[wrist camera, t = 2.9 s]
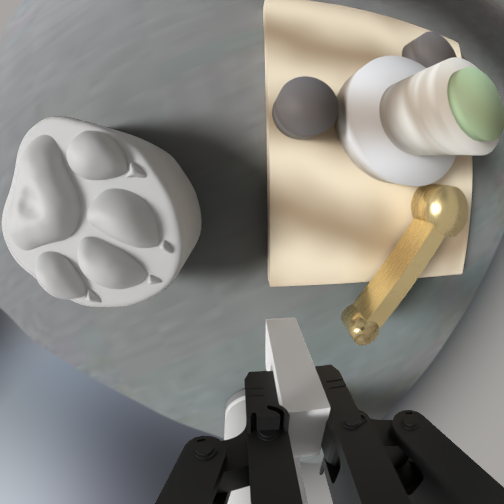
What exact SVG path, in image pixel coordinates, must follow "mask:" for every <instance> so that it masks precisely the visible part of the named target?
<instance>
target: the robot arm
mask: <svg viewBox="0 0 504 504" xmlns="http://www.w3.org/2000/svg"><path fill="white" fill-rule="evenodd" d="M265 363H266V369H267V371H260V372H249V373H248V375H247V376H246V378H245V403H246V427H245V429H244V431H243V432H242V433H241V434H239V435H238V436H236V437H234V438H231V439H228V440H224V441H220V440H219V439H217V438H214V437H211V436H200V437H195V438H194V439H192V440H190V441H188V443H187V444H186V445H185V447H184V449H183V450H182V452H181V454H180V456H179V458H178V460H177V462H176V464H175V466H174V468H173V470H172V472H171V474H170V476H169V478H168V480H167V482H166V484H165V486H164V488H163V489H162V491H161V493H160V495H159V497H158V499H157V501H156V503H155V504H227V503H228V500H229V497H230V494H231V491H234V490H237V489H241V488H244V487H247V486H250V499H251V504H303V502H302V497H301V492H300V487H299V482H298V477H297V472H296V467H295V462H294V457H303V456H310V455H317V454H320V451H321V447H322V450H323V453H324V458H323V461H322V465H321V468H320V475H322V474H323V472H324V471H325V475H326V479H327V482H328V486H329V489H330V493H331V497H332V500H333V504H504V488H503V486H501V485H500V484H499V483H498V482H497V481H495V480H494V479H493V478H492V477H491V476H490V475H489V474H488V473H487V472H485V471H484V470H483V469H482V468H481V467H480V466H479V465H478V464H477V463H475V462H474V461H473V460H472V459H471V458H470V457H469V456H468V455H466V454H465V453H464V452H463V451H462V450H461V449H460V448H459V447H457V446H456V445H455V444H454V443H453V442H452V441H451V440H450V439H448V438H447V437H446V436H445V435H444V434H443V433H442V432H441V431H440V430H438V429H437V428H436V427H435V426H434V425H433V424H432V423H431V422H429V421H428V420H427V419H426V418H425V417H424V416H423V415H421V414H420V413H418V412H415V411H412V410H405V411H401V412H399V413H398V414H396V415H395V416H394V419H393V420H374V419H370V418H369V417H368V415H367V414H366V413H364V412H362V411H360V410H358V409H357V407H356V405H355V403H354V401H353V399H352V397H351V394H350V392H349V390H348V388H347V387H346V384H345V382H344V380H343V378H342V376H341V374H340V372H339V371H338V370H337V369H336V368H335V367H333V366H332V365H325V366H316V367H315V366H314V363H313V361H312V358H311V356H310V353H309V350H308V348H307V345H306V343H305V340H304V338H303V335H302V333H301V330H300V328H299V325H298V323H297V320H296V318H295V317H294V318H275V319H266V361H265Z"/></svg>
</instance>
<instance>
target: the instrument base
mask: <svg viewBox="0 0 504 504" xmlns="http://www.w3.org/2000/svg"><path fill="white" fill-rule="evenodd" d="M263 21H264V50H265V85H266V131H267V211H268V280H269V284H270V287H273V286H298V285H320V284H338V283H355V282H370V281H371V280H372V278H373V277H374V275H375V274H376V273H377V271H378V270H379V269H380V267H381V266H382V264H383V263H384V262H385V260H386V259H387V257H388V256H389V254H390V253H391V252H392V250H393V249H394V247H395V246H396V244H397V243H398V241H399V240H400V238H401V237H402V235H403V234H404V232H405V231H406V229H407V228H408V226H409V224H410V223H411V221H412V220H413V216H412V212H411V201H412V197H413V195H414V193H415V191H416V190H417V188H418V187H419V186H424V185H428V184H431V183H433V184H441V185H448V186H455V187H457V188H459V189H460V190H461V191H462V192H463V193H464V195H465V197H466V199H467V203H468V217H467V221H466V224H465V226H464V228H463V229H462V230H461V232H460V233H459V234H457V235H456V236H453V237H444V239H443V241H442V242H441V244H440V245H439V247H438V249H437V250H436V252H435V253H434V255H433V256H432V258H431V260H430V261H429V263H428V264H427V266H426V267H425V269H424V270H423V272H422V273H421V274H420V276H419V277H418V278H423V277H434V276H445V275H456V274H462V272H463V267H464V261H465V255H466V248H467V241H468V233H469V224H470V213H471V199H472V155H486V154H489V153H490V152H492V151H493V150H494V148H495V147H496V146H497V144H498V141H499V139H500V135H501V133H502V131H503V128H504V108H503V104H502V101H501V98H500V95H499V93H498V91H497V89H496V87H495V85H494V84H493V82H492V81H491V80H490V78H489V77H488V76H487V75H486V74H485V73H483V72H482V71H481V70H479V69H478V68H477V67H476V66H474V65H473V64H472V63H470V62H468V61H467V60H464V59H462V57H461V53H460V48H459V44H458V43H457V42H455V41H453V40H451V39H449V38H446V37H444V36H442V35H439V34H438V33H435V32H432V31H429V30H427V29H424V28H421V27H418V26H416V25H413V24H410V23H407V22H404V21H401V20H398V19H394V18H391V17H387V16H384V15H380V14H377V13H373V12H369V11H364V10H360V9H356V8H351V7H346V6H341V5H335V4H329V3H323V2H316V1H308V0H265V1H264V7H263Z"/></svg>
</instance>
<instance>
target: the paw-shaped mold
mask: <svg viewBox="0 0 504 504" xmlns="http://www.w3.org/2000/svg"><path fill="white" fill-rule="evenodd" d="M201 226H202V220H201V211H200V206H199V202H198V198H197V195H196V192H195V190H194V188H193V186H192V184H191V182H190V181H189V179H188V177H187V176H186V174H185V173H184V171H183V170H182V168H181V167H180V166H179V164H178V163H177V162H176V160H175V159H174V158H173V157H172V156H171V155H170V154H169V153H167V152H166V151H164V150H163V149H161V148H159V147H157V146H156V145H154V144H152V143H150V142H147V141H145V140H143V139H141V138H138V137H136V136H133V135H130V134H127V133H124V132H121V131H118V130H114V129H111V128H108V127H104V126H101V125H97V124H94V123H90V122H86V121H82V120H78V119H74V118H70V117H63V116H54V117H48V118H46V119H43V120H42V121H40V122H39V123H37V124H36V125H34V126H33V127H32V128H31V129H30V130H29V131H28V132H27V134H26V135H25V137H24V139H23V141H22V143H21V145H20V148H19V151H18V155H17V160H16V165H15V172H14V177H13V181H12V185H11V189H10V192H9V195H8V197H7V200H6V203H5V206H4V210H3V216H2V230H3V235H4V238H5V241H6V243H7V246H8V248H9V250H10V252H11V254H12V256H13V257H14V259H15V260H16V261H17V262H18V263H19V265H20V266H21V267H22V268H24V269H25V270H26V271H27V272H28V273H30V274H31V275H32V276H34V277H35V278H36V279H37V280H38V282H39V284H40V285H41V286H42V287H43V288H44V290H46V291H47V292H48V293H49V294H51V295H52V296H54V297H57V298H60V299H70V300H72V301H74V302H76V303H79V304H82V305H85V306H93V307H122V306H130V305H134V304H137V303H140V302H143V301H145V300H148V299H150V298H151V297H153V296H155V295H157V294H159V293H160V292H162V291H163V290H164V289H166V288H167V287H168V286H169V285H170V284H171V283H172V282H173V281H174V280H175V278H176V277H177V275H178V273H179V272H180V270H181V268H182V267H183V265H184V263H185V262H186V260H187V259H188V257H189V255H190V253H191V252H192V250H193V248H194V247H195V245H196V243H197V241H198V239H199V236H200V233H201Z"/></svg>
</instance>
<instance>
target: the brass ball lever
mask: <svg viewBox="0 0 504 504" xmlns="http://www.w3.org/2000/svg"><path fill="white" fill-rule="evenodd" d="M411 212H412V216H413V220H412V221H411V223H410V224H409V226H408V228H407V229H406V231H405V232H404V234H403V235H402V237H401V238H400V240H399V241H398V243H397V244H396V246H395V247H394V249H393V250H392V252H391V253H390V254H389V256H388V257H387V259H386V260H385V262H384V263H383V264H382V266H381V267H380V269H379V270H378V271H377V273H376V274H375V275H374V277H373V278H372V280H371V281H370V282H369V284H368V285H367V286H366V288H365V289H364V290H363V292H362V293H361V294H360V295H359V297H358V298H357V299H356V301H355V302H354V303H353V304H352V305H349V306H348V307H346V308H345V309H344V311H343V312H342V315H341V320H342V323H343V324H344V326H345V327H346V329H347V330H348V332H349V334H350V335H351V337H352V338H353V340H354V341H355V343H356V344H358V345H367V344H369V343H371V342H372V341H374V340H375V338H376V337H377V335H378V333H379V329H380V328H381V327H382V325H383V324H384V323H385V322H386V320H387V319H388V318H389V317H390V315H391V314H392V313H393V311H394V310H395V309H396V308H397V306H398V305H399V304H400V302H401V301H402V300H403V298H404V297H405V296H406V294H407V293H408V291H409V290H410V289H411V287H412V286H413V284H414V283H415V282H416V280H417V279H418V277H419V276H420V274H421V273H422V272H423V270H424V269H425V267H426V266H427V264H428V263H429V261H430V260H431V258H432V256H433V255H434V253H435V252H436V250H437V249H438V247H439V245H440V244H441V242H442V241H443V239H444V237H453V236H456V235H457V234H459V233H460V232H461V230H462V229H463V228H464V226H465V224H466V221H467V217H468V203H467V199H466V197H465V195H464V193H463V192H462V191H461V190H460V189H459V188H457V187H455V186H448V185H441V184H433V183H431V184H428V185H424V186H419V187H418V188H417V190H416V191H415V193H414V195H413V197H412V201H411Z"/></svg>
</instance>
